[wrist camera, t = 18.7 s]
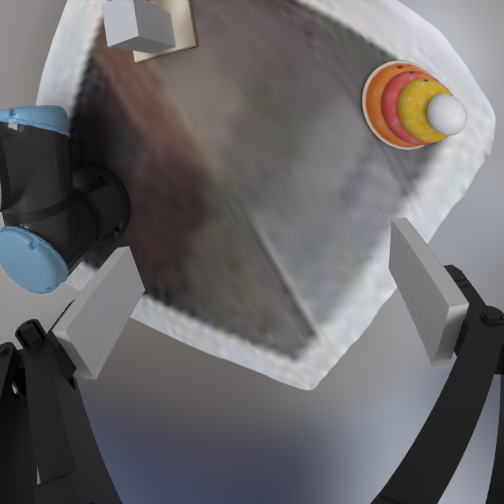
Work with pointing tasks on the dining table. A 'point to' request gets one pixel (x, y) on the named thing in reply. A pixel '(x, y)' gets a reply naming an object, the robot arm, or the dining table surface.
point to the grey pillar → (138, 26)
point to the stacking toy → (410, 106)
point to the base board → (175, 28)
